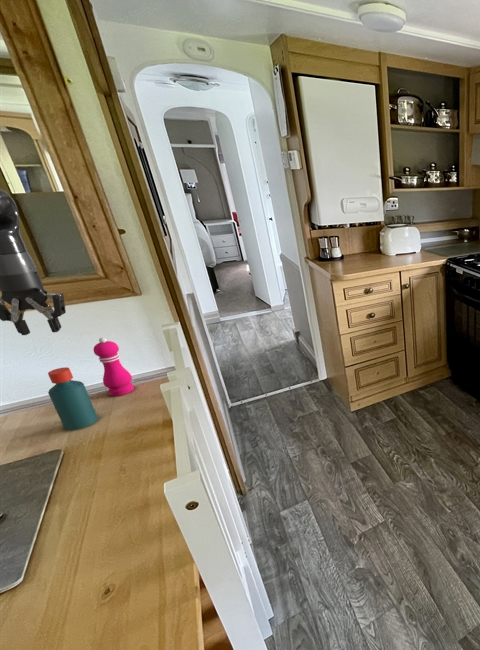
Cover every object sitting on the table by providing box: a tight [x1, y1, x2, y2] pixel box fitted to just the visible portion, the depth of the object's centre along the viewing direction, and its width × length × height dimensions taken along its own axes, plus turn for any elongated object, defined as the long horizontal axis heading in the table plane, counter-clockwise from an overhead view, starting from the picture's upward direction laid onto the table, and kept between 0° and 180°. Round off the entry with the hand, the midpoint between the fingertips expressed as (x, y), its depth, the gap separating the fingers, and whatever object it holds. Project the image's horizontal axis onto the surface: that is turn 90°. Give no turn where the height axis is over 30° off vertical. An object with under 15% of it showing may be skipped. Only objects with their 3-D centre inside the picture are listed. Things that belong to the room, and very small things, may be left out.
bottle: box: [47, 379, 99, 431], centre depth 109 cm, size 7×7×17 cm
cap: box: [47, 366, 74, 385], centre depth 106 cm, size 4×4×3 cm
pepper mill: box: [93, 337, 135, 397], centre depth 125 cm, size 7×7×20 cm
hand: (41, 332), depth 101 cm, fingers open, 5 cm apart
